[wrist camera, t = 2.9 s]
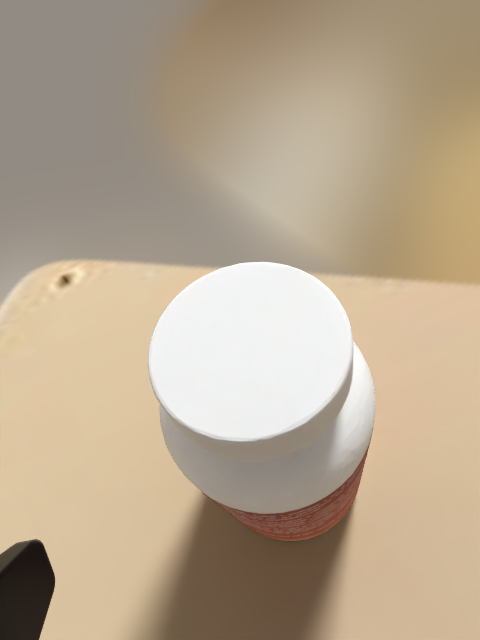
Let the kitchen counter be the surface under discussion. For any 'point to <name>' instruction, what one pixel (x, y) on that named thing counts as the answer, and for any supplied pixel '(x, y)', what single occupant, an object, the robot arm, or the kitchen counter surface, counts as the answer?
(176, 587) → the kitchen counter surface
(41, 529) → the kitchen counter surface
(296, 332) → the pill bottle
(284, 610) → the kitchen counter surface
